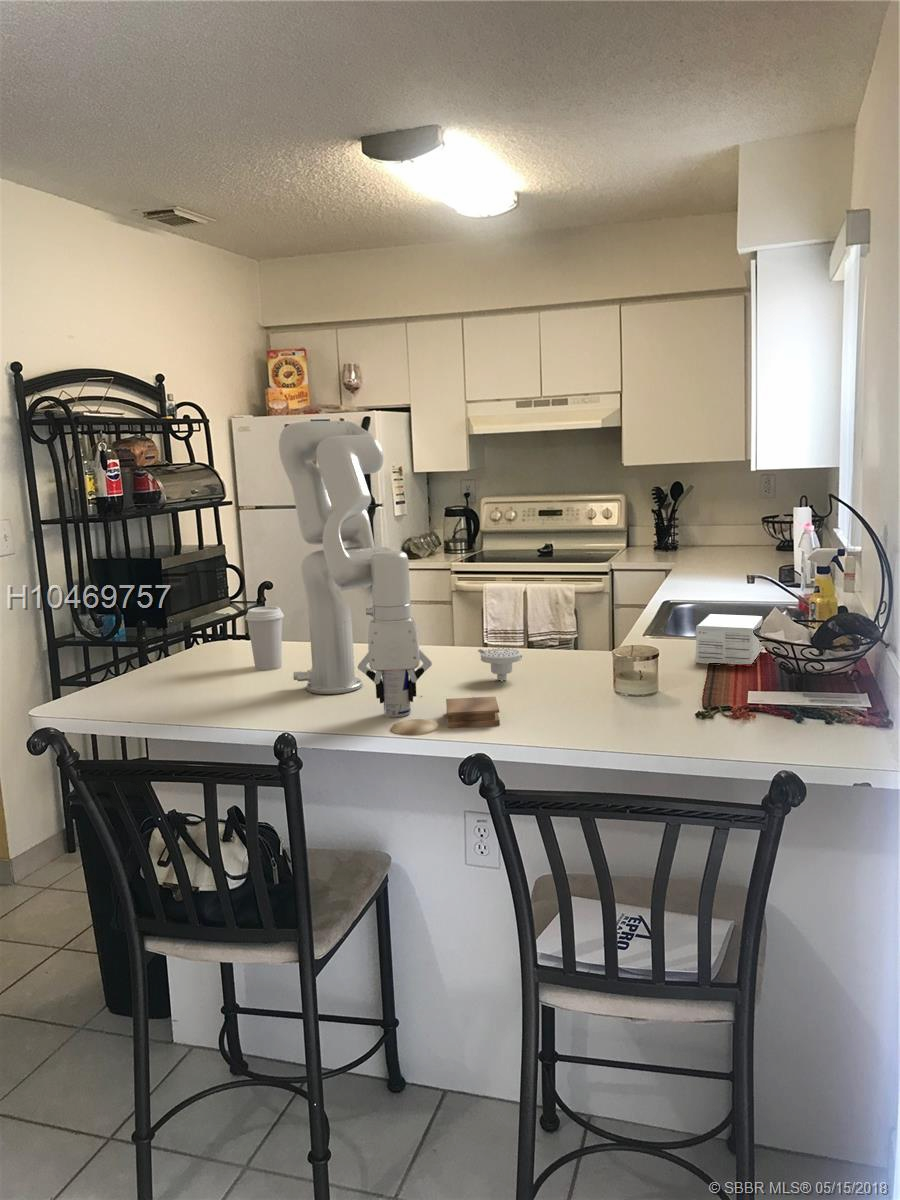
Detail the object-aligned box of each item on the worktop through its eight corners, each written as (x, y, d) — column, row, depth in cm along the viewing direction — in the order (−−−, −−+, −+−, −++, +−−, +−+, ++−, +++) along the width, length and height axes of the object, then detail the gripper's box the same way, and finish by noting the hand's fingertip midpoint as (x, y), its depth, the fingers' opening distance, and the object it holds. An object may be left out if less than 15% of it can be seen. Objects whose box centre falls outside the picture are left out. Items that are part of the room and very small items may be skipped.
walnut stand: (447, 727, 181) (447, 712, 180) (446, 713, 191) (446, 698, 190) (499, 725, 181) (499, 710, 181) (495, 710, 191) (495, 696, 190)
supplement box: (752, 667, 218) (753, 628, 217) (695, 664, 224) (695, 625, 222) (763, 652, 233) (763, 614, 232) (708, 649, 239) (709, 612, 237)
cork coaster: (391, 738, 177) (391, 733, 177) (392, 724, 186) (392, 720, 186) (439, 735, 177) (439, 731, 177) (438, 721, 186) (437, 718, 186)
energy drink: (414, 711, 193) (411, 654, 191) (404, 718, 188) (401, 660, 186) (390, 709, 195) (387, 653, 193) (380, 717, 190) (376, 659, 188)
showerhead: (481, 644, 220) (524, 644, 218) (482, 674, 221) (524, 675, 219) (474, 653, 211) (518, 653, 209) (475, 685, 212) (519, 685, 210)
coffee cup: (295, 665, 240) (291, 607, 237) (269, 673, 232) (264, 613, 229) (267, 661, 245) (263, 604, 242) (241, 669, 237) (236, 611, 234)
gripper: (347, 618, 184) (353, 708, 187) (435, 614, 185) (439, 703, 187) (350, 611, 192) (355, 698, 195) (434, 607, 192) (438, 694, 195)
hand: (396, 700), depth 191 cm, fingers closed on energy drink, 5 cm apart
